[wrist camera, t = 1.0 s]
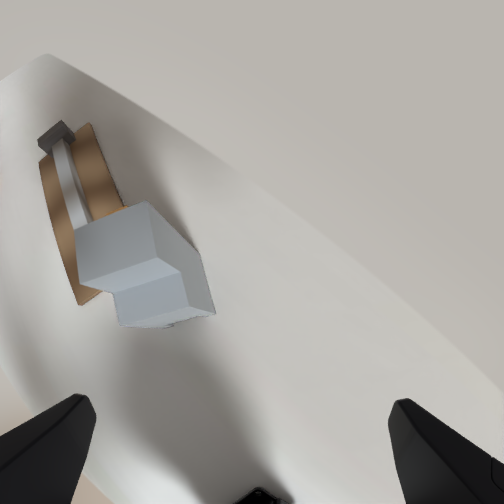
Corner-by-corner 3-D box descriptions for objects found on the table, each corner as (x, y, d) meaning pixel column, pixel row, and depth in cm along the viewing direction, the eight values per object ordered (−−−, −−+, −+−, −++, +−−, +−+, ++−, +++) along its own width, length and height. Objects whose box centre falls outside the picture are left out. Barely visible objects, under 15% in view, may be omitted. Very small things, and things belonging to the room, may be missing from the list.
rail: (148, 259, 25) (130, 248, 22) (81, 305, 25) (58, 301, 21) (91, 125, 30) (76, 107, 26) (41, 164, 29) (24, 150, 26)
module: (216, 313, 24) (167, 300, 13) (164, 328, 24) (86, 323, 13) (197, 245, 25) (144, 186, 14) (148, 261, 25) (73, 216, 14)
